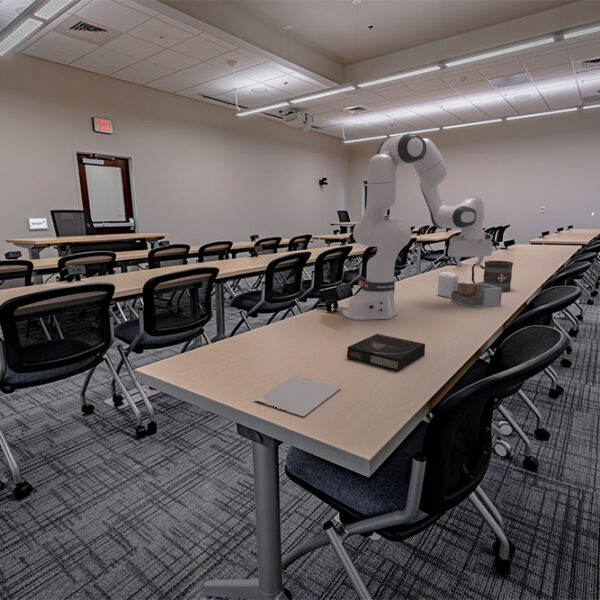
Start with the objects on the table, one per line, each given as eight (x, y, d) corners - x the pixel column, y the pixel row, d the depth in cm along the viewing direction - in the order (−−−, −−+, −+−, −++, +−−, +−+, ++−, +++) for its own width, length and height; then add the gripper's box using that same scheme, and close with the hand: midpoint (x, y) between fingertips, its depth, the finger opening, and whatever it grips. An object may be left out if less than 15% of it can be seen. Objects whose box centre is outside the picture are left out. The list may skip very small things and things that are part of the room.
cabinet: (470, 308, 176) (471, 290, 174) (450, 301, 190) (451, 284, 189) (500, 305, 179) (502, 288, 178) (478, 299, 194) (480, 282, 192)
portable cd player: (346, 360, 119) (346, 347, 118) (376, 345, 132) (376, 333, 131) (396, 374, 108) (397, 359, 108) (424, 356, 121) (425, 343, 120)
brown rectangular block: (469, 304, 179) (471, 286, 177) (456, 299, 188) (457, 283, 187) (476, 304, 179) (477, 286, 178) (462, 299, 189) (463, 282, 187)
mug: (511, 289, 216) (513, 261, 213) (509, 293, 205) (512, 264, 202) (471, 286, 226) (473, 259, 223) (468, 290, 215) (470, 262, 211)
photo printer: (458, 298, 197) (460, 273, 194) (452, 299, 195) (453, 273, 192) (442, 294, 206) (443, 270, 203) (436, 295, 204) (437, 271, 201)
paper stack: (224, 393, 98) (223, 391, 98) (284, 361, 118) (284, 359, 118) (303, 419, 85) (303, 416, 85) (356, 378, 105) (356, 376, 105)
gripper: (454, 236, 172) (452, 268, 175) (496, 235, 177) (493, 266, 179) (446, 235, 178) (443, 266, 181) (486, 235, 183) (483, 265, 185)
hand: (468, 266), depth 180 cm, fingers open, 8 cm apart
